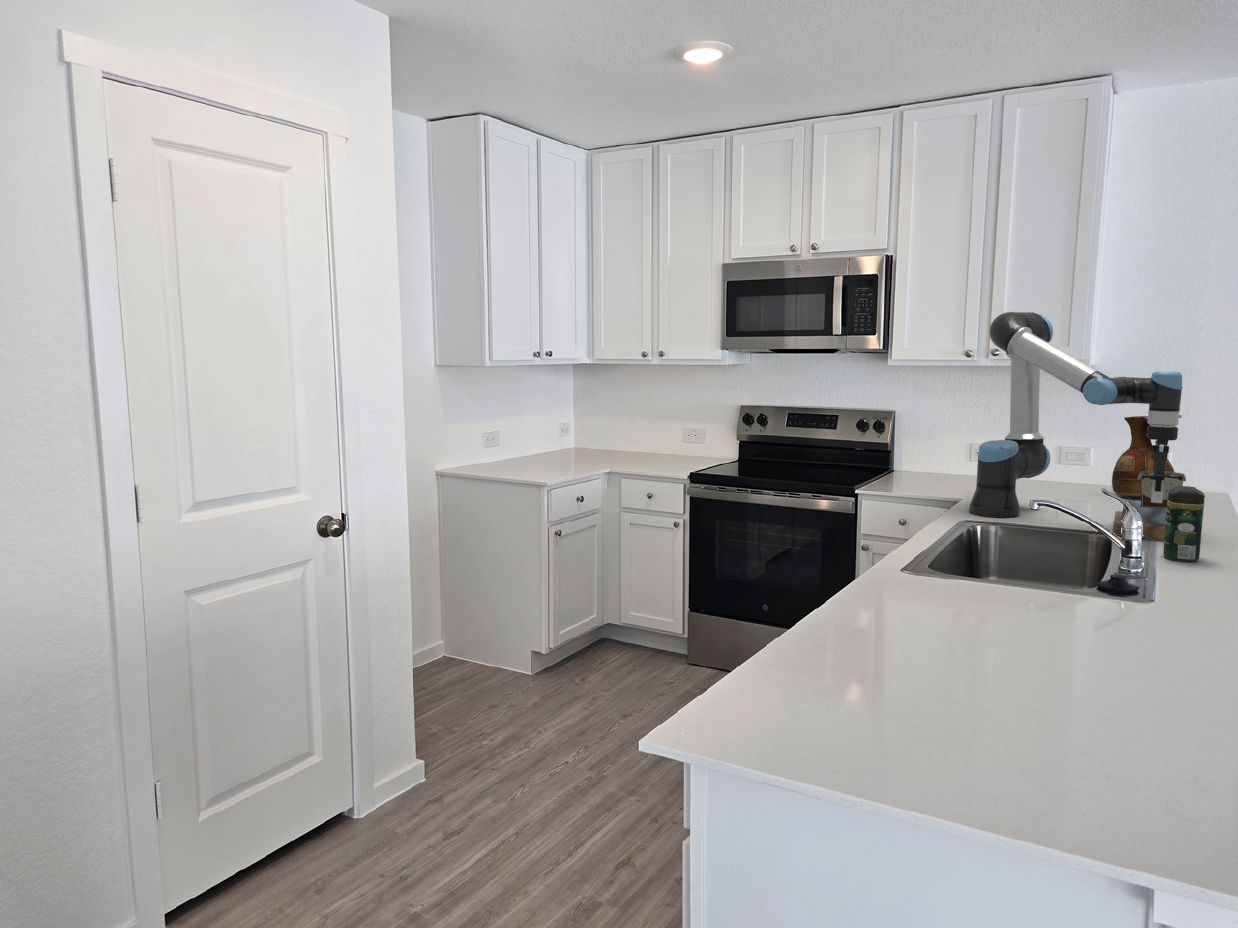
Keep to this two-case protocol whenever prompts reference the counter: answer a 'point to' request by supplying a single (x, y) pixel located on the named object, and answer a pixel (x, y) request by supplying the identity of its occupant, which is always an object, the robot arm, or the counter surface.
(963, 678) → the counter surface
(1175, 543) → the coffee jar
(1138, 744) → the counter surface
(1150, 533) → the pedestal
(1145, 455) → the ceramic pitcher
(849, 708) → the counter surface
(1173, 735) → the counter surface
